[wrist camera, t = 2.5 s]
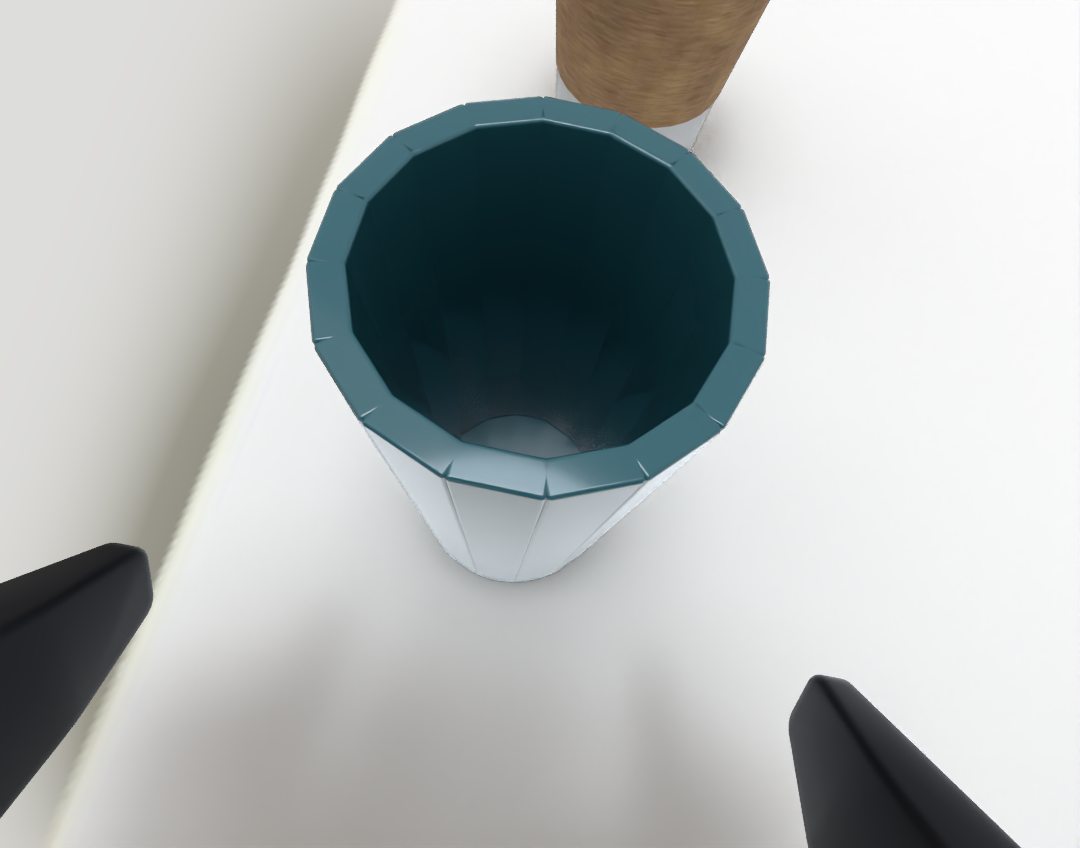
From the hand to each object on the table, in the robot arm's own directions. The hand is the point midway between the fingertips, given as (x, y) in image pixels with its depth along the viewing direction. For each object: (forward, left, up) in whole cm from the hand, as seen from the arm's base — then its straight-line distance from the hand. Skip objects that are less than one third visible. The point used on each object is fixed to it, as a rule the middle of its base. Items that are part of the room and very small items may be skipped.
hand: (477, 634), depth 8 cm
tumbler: (+4, +2, -11) cm, 12 cm away
